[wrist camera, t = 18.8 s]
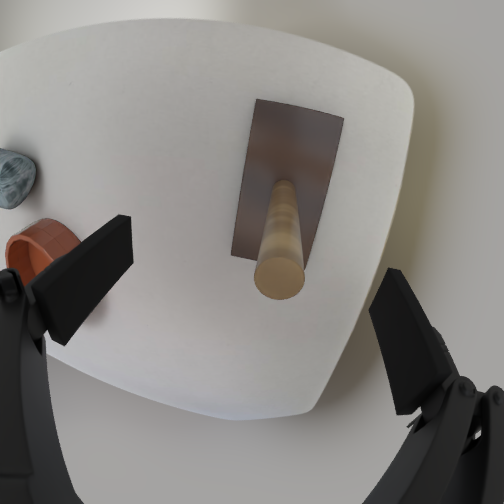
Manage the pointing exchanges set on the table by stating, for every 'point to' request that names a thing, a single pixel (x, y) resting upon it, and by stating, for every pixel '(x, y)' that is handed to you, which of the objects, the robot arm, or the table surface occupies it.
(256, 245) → the brown board
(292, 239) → the stick
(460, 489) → the robot arm
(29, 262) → the bowl
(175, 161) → the table surface
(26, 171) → the blue yarn skein
